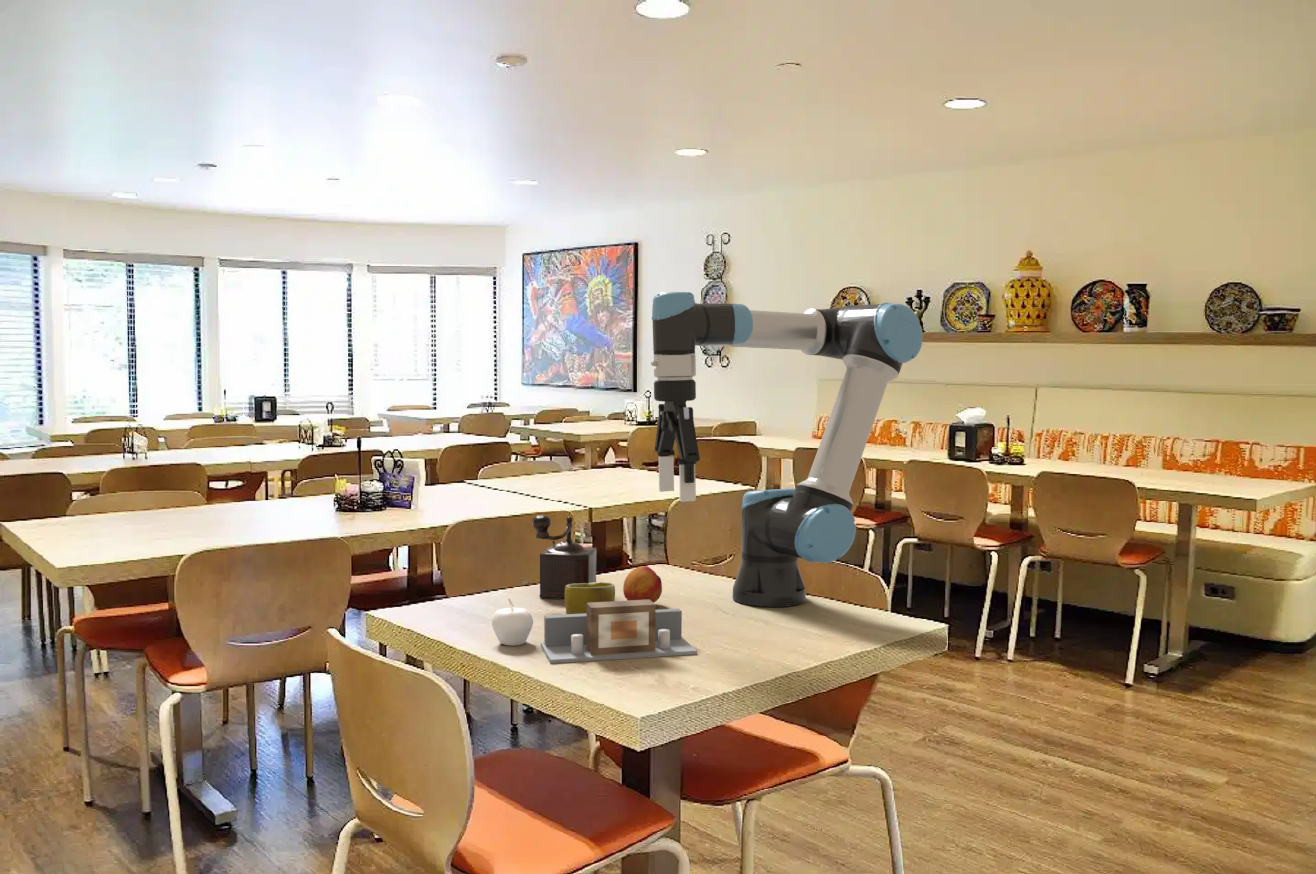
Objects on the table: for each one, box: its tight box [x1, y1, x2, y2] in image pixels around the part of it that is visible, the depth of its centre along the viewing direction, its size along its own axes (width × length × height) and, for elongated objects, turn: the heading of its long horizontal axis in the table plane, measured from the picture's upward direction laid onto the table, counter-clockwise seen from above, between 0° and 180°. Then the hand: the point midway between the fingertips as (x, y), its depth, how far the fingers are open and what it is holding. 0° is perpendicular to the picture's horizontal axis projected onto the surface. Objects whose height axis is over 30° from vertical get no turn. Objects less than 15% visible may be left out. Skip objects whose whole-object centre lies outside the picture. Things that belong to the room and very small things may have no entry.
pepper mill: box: [531, 514, 598, 601], centre depth 228 cm, size 16×11×18 cm
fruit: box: [622, 565, 663, 604], centre depth 221 cm, size 8×8×8 cm
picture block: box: [587, 599, 657, 655], centre depth 185 cm, size 11×4×8 cm, turn 105°
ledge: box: [540, 608, 698, 664], centre depth 187 cm, size 25×11×6 cm, turn 104°
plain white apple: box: [491, 598, 534, 647], centre depth 191 cm, size 7×7×8 cm
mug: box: [564, 581, 616, 614], centre depth 204 cm, size 12×10×10 cm
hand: (676, 496), depth 199 cm, fingers open, 13 cm apart
